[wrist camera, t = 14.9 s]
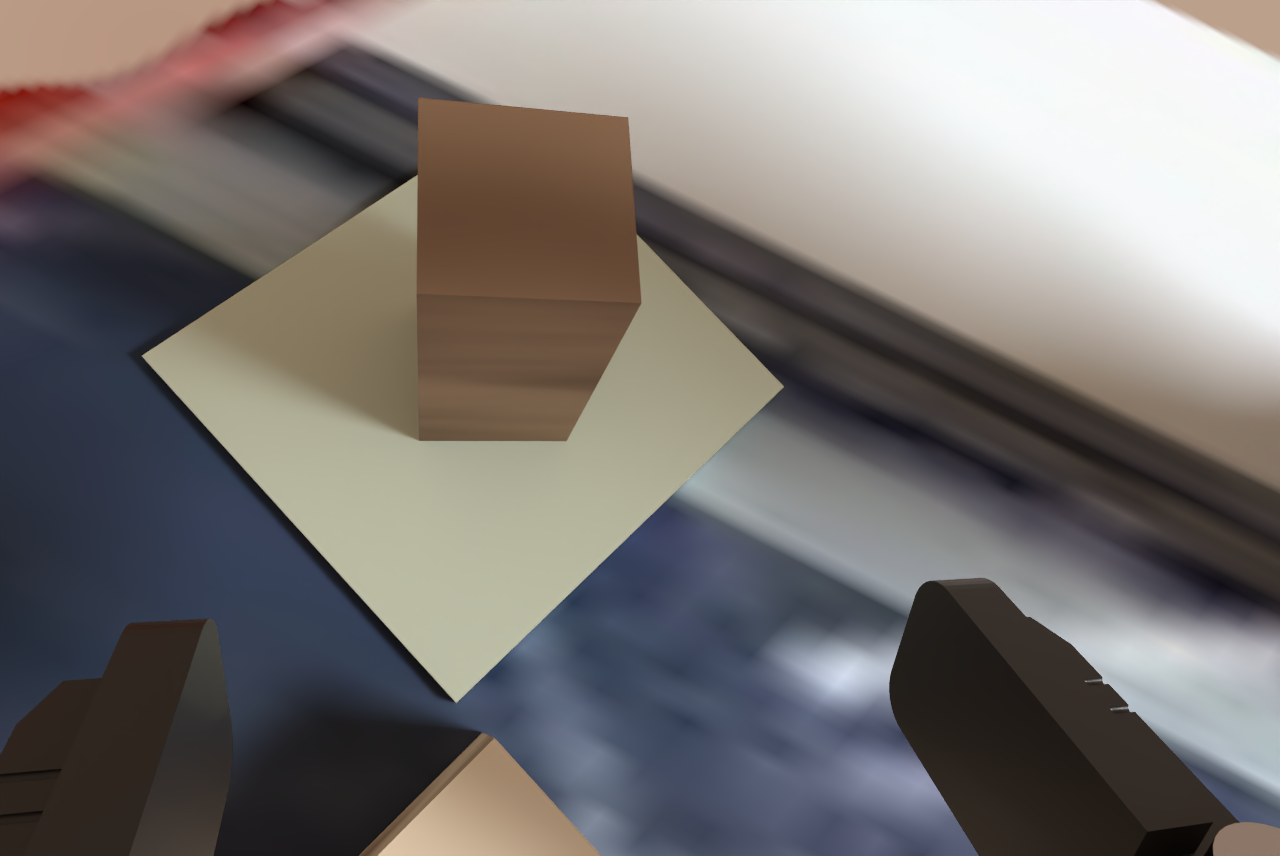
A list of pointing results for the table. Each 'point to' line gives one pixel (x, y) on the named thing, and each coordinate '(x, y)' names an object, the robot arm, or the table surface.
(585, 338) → the walnut block
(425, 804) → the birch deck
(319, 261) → the sage mat
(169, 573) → the table surface
